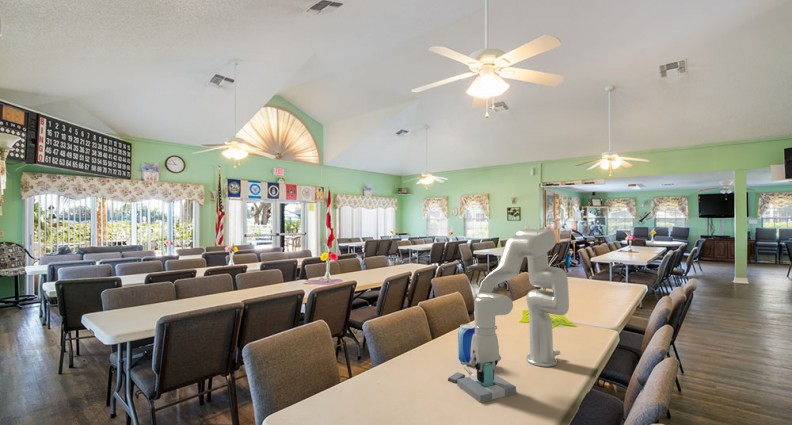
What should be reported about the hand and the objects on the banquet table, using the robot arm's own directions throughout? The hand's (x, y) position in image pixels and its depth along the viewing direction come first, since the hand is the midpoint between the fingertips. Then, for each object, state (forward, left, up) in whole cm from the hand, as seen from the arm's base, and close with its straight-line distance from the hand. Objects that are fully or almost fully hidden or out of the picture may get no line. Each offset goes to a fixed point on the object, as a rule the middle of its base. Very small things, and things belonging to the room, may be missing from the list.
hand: (485, 379), depth 131 cm
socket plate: (0, 0, -4) cm, 4 cm away
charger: (0, 0, -2) cm, 2 cm away
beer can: (-9, -24, -4) cm, 26 cm away
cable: (-3, -15, -4) cm, 16 cm away
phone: (+5, -12, -4) cm, 13 cm away
